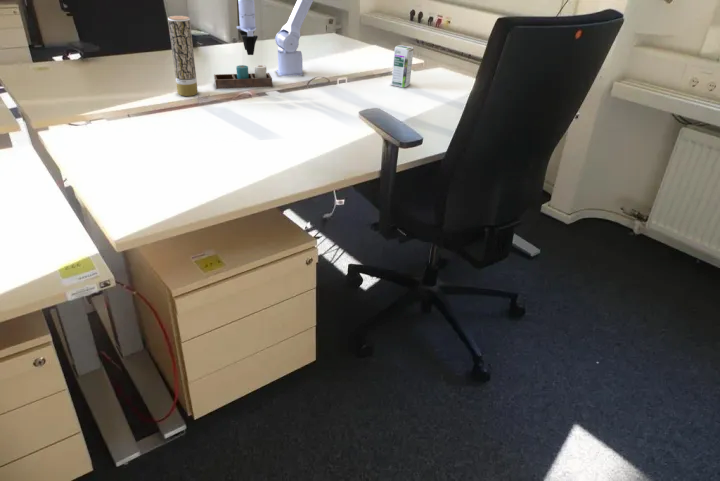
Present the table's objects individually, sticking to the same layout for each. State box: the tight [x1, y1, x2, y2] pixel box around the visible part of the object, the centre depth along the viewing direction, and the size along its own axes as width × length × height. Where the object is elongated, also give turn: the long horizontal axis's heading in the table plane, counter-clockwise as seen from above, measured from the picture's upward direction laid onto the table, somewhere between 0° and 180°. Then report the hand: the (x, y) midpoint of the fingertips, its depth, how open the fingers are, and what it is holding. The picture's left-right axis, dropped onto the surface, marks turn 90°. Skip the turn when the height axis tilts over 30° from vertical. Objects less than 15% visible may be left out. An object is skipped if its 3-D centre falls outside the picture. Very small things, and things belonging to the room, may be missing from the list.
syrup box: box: [390, 44, 414, 88], centre depth 206 cm, size 6×6×14 cm
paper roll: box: [235, 64, 250, 79], centre depth 196 cm, size 4×4×6 cm
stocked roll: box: [254, 64, 267, 78], centre depth 198 cm, size 4×4×6 cm
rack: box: [213, 72, 273, 90], centre depth 198 cm, size 20×7×4 cm, turn 107°
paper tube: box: [167, 15, 199, 97], centre depth 181 cm, size 7×7×25 cm
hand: (249, 52), depth 203 cm, fingers open, 7 cm apart
